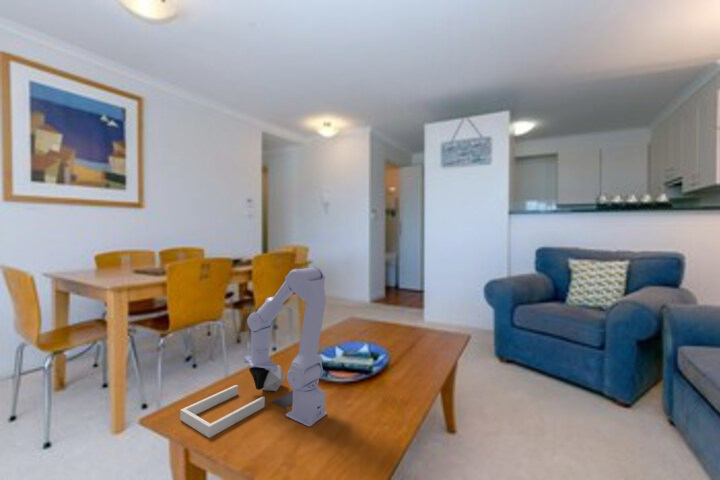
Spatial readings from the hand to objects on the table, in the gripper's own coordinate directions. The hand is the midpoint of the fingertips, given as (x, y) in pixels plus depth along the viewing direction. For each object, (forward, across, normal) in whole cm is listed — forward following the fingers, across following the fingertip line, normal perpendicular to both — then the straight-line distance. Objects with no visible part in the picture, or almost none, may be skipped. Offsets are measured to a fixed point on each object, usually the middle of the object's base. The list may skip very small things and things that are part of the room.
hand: (259, 388), depth 108 cm
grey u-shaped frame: (+2, 0, -13) cm, 13 cm away
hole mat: (+2, +10, +4) cm, 11 cm away
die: (+2, 0, +5) cm, 5 cm away
